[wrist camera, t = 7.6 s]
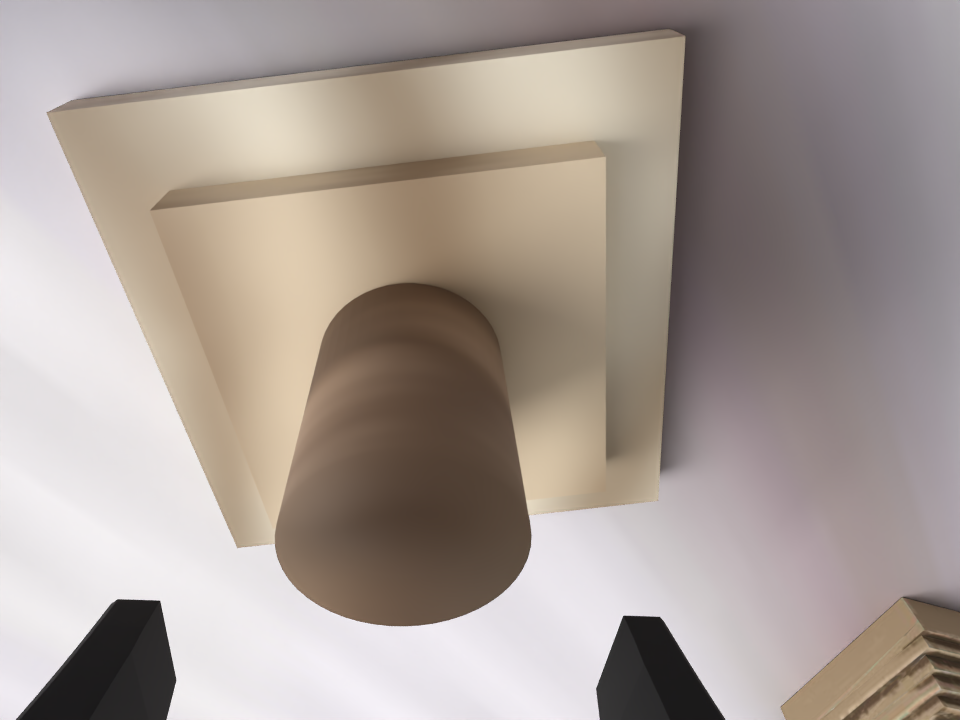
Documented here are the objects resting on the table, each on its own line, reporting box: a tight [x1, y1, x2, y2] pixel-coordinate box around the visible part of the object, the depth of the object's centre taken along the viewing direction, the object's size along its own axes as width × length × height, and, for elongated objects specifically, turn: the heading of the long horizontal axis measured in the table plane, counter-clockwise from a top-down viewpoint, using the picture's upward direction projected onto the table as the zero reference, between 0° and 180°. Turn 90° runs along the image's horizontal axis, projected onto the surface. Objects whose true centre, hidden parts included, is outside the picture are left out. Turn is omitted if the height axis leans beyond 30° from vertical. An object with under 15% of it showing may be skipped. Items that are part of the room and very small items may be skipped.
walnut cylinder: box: [275, 283, 531, 626], centre depth 15 cm, size 5×5×6 cm
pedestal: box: [47, 29, 686, 548], centre depth 18 cm, size 14×14×2 cm
